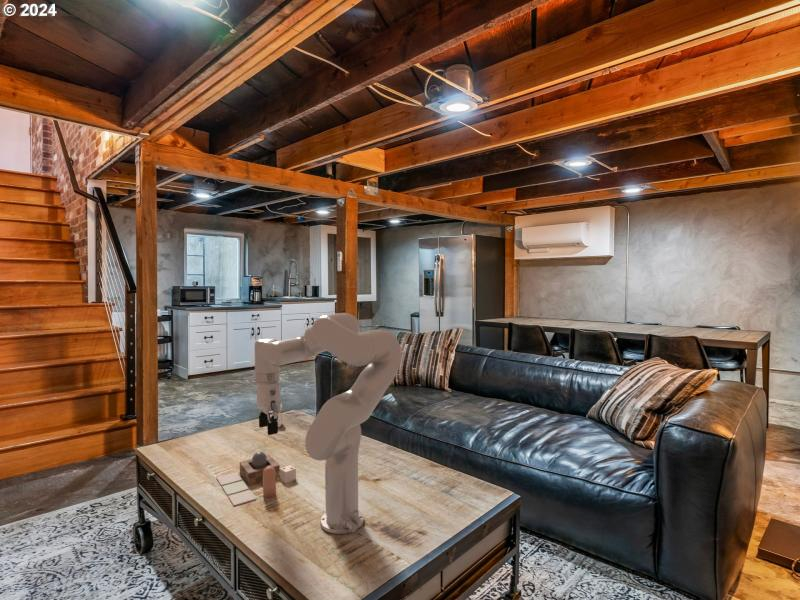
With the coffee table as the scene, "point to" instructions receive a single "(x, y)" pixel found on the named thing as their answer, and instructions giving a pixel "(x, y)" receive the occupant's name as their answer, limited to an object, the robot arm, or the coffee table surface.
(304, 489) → the coffee table surface
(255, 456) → the dome
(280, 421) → the bust
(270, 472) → the brown rounded cylinder piece
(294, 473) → the die
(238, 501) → the tile strip
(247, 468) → the frame
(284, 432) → the coffee table surface
